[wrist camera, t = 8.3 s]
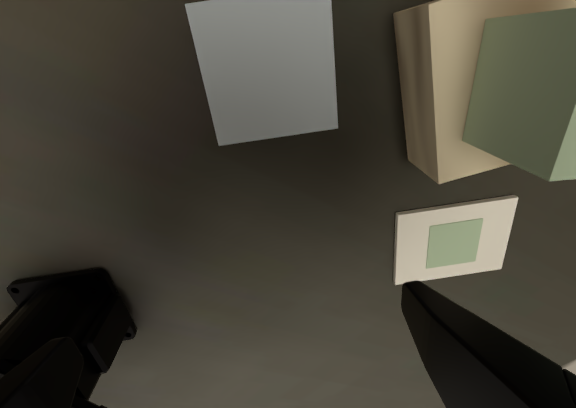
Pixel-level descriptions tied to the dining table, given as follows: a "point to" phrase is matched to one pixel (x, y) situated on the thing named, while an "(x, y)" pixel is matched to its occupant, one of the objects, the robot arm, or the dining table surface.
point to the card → (452, 239)
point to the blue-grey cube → (266, 66)
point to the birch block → (447, 79)
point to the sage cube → (527, 93)
